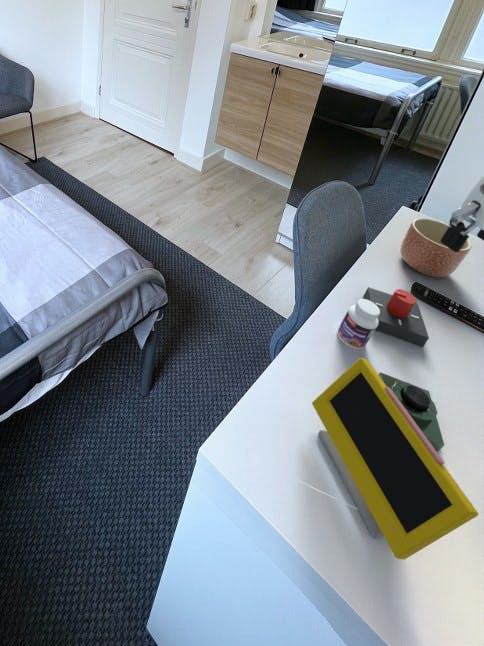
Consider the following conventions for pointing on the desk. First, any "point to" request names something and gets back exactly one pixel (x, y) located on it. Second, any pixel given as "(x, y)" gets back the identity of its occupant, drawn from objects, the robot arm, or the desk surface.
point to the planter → (431, 249)
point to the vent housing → (418, 412)
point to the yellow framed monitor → (388, 463)
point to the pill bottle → (359, 324)
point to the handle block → (398, 320)
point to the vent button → (415, 398)
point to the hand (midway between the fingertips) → (467, 244)
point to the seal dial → (401, 303)
